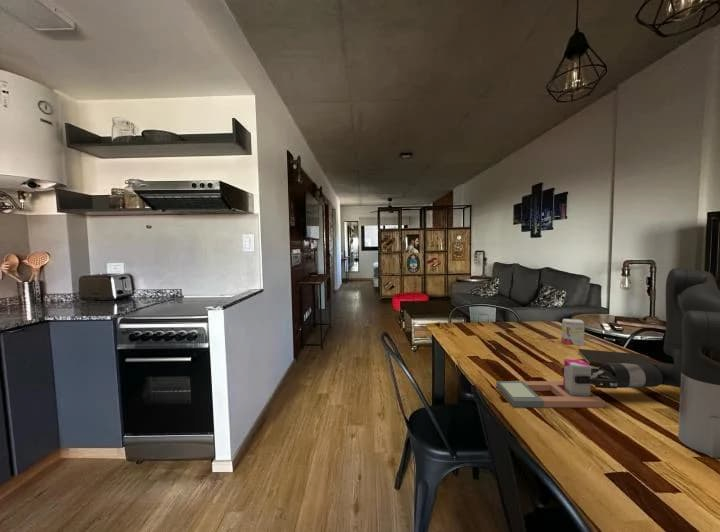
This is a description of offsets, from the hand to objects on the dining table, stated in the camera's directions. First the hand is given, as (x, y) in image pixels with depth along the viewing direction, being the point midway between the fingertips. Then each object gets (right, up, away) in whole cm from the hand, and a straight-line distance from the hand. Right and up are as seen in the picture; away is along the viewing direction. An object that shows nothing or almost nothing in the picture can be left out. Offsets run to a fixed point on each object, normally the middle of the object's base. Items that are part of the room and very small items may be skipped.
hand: (569, 375), depth 102 cm
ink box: (+37, -3, +53) cm, 64 cm away
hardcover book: (+39, -5, +29) cm, 49 cm away
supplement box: (+2, -7, 0) cm, 8 cm away
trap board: (-7, -7, +1) cm, 10 cm away
